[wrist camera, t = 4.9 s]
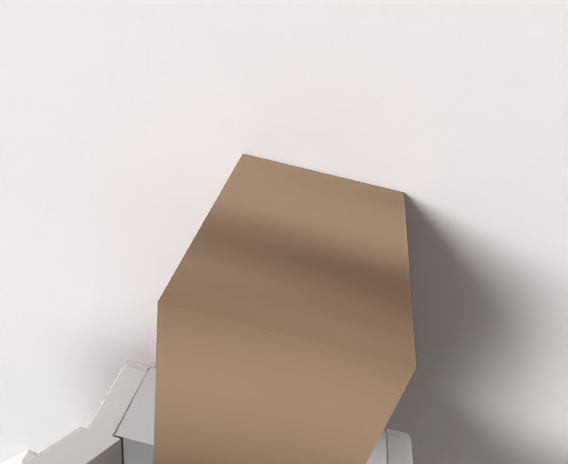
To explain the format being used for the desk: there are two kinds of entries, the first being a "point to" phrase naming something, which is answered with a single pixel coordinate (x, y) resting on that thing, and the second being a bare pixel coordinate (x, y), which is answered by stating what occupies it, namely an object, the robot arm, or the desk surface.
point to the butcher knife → (20, 458)
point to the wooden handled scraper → (285, 323)
